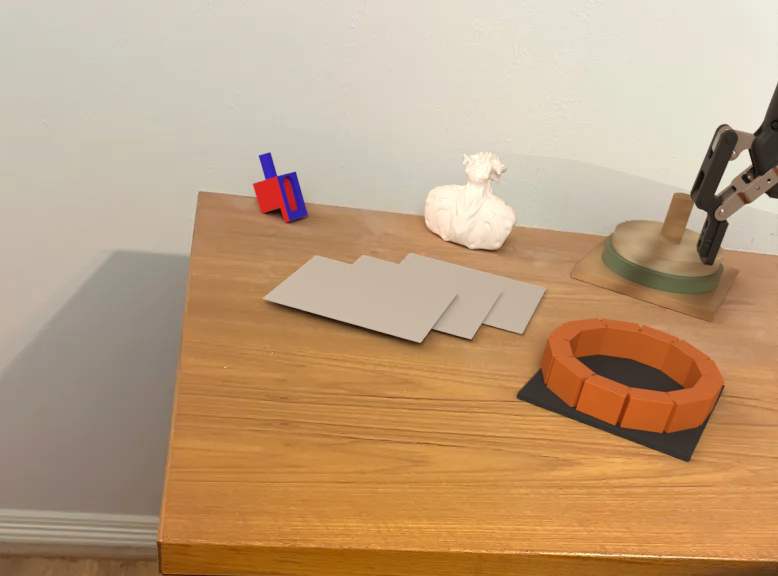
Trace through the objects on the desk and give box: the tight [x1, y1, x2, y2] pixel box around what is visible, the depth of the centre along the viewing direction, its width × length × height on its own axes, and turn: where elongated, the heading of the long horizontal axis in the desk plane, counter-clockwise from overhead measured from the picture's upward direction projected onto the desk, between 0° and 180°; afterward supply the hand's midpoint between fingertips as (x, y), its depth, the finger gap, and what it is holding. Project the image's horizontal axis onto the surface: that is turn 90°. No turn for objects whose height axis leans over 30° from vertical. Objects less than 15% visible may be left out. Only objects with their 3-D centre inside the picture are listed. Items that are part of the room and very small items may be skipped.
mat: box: [516, 354, 726, 463], centre depth 81 cm, size 16×16×1 cm
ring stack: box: [570, 192, 740, 323], centre depth 104 cm, size 17×17×10 cm
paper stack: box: [261, 252, 547, 344], centre depth 92 cm, size 23×25×1 cm
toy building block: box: [252, 152, 309, 223], centre depth 105 cm, size 4×4×8 cm
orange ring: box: [540, 317, 725, 433], centre depth 81 cm, size 16×16×3 cm
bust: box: [423, 151, 518, 251], centre depth 106 cm, size 12×8×11 cm
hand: (754, 269), depth 73 cm, fingers open, 8 cm apart
